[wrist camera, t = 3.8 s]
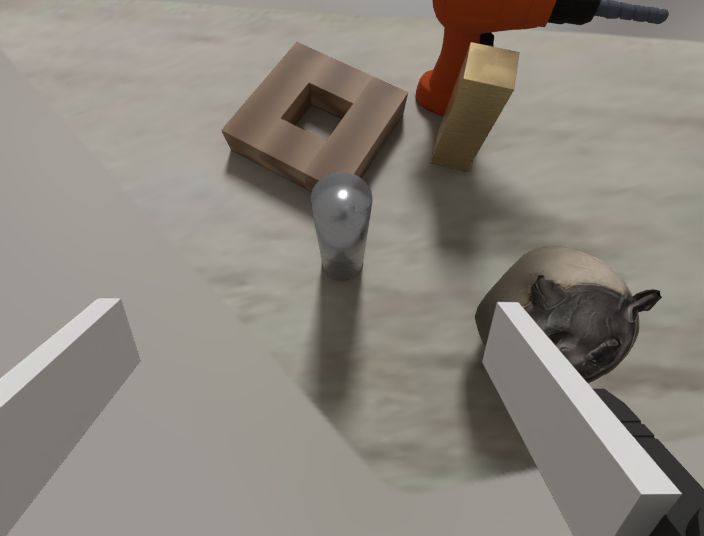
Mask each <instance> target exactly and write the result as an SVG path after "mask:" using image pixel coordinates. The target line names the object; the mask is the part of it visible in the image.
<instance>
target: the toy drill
mask: <svg viewBox="0 0 704 536" xmlns="http://www.w3.org/2000/svg"><path fill="white" fill-rule="evenodd" d="M433 8H434V11H435V14H436V17H437V19H438V20H439V22H440V23H441V24H442V25H443V26H444V27H445V28H444V39H443V45H442V50H441V54H440V56H439V58H438V61H437V63H436V65H435V67H434V69H433V70H430V71H427V72H426V73H424V74H423V76H422V77H421V79H420V81H419V83H418V86H417V90H416V99H417V101H418V102H419V103H420V104H421V105H422V106H424V107H425V108H427V109H429V110H431V111H433V112H435V113H437V114H440V115H443V116H444V114H445V111H446V108H447V106H448V103H449V100H450V97H451V95H452V92H453V89H454V87H455V84H456V81H457V79H458V76H459V73H460V71H461V68H462V65H463V62H464V60H465V57H466V54H467V52H468V49H469V46H470V44H471V42H472V43H477V44H482V45H487V46H491V47H493V42H494V35H493V34H492V33H491V32H498V31H506V30H519V29H530V28H536V27H545V26H546V24H547V22H549V23H555V24H564V23H569V24H576V25H582V24H585V23H588V22H590V21H591V20H592V19H593V17H594V16H600V17H606V18H607V19H611V18H612V19H614V18H615V19H616V18H618V17H620V19H625V20H631V19H633V20H634V21H639V22H644V21H647V22H648V23H655V24H660V23H662V22H664V21H665V20H666V19H667V17H668V15H669V12H668V10H666V9H661V10H660V9H659V8H654V7H645V6H640V5H631V4H627V3H623V2H620V3H619V2H617V1H612V0H606V1H605V0H433Z"/></svg>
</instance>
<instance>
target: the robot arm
mask: <svg viewBox="0 0 704 536" xmlns="http://www.w3.org/2000/svg"><path fill="white" fill-rule="evenodd" d="M140 361H141V360H140V358H139V354H138V351H137V348H136V345H135V341H134V338H133V335H132V332H131V329H130V326H129V323H128V320H127V316H126V313H125V310H124V307H123V304H122V301H121V299H103V298H98V299H97V300H96V301H94V302H93V303H92V304H91V305H90V306H88V307H87V308H86V309H85V310H84V311H82V312H81V313H80V314H79V315H77V316H76V317H75V318H74V319H73V320H71V321H70V322H69V323H68V324H67V325H65V326H64V327H63V328H62V329H60V330H59V331H58V332H57V333H55V334H54V335H53V336H52V337H51V338H49V339H48V340H47V341H46V342H45V343H43V344H42V345H41V346H40V347H38V348H37V349H36V350H35V351H33V352H32V353H31V354H30V355H29V356H28V357H26V358H25V359H24V360H22V361H21V362H20V363H19V364H18V365H16V366H15V367H14V368H13V369H12V370H10V371H9V372H8V373H7V374H5V375H4V376H3V377H2V378H1V379H0V536H6V535H7V534H8V533H9V531H10V530H11V529H12V528H13V526H14V525H15V524H16V522H17V521H18V520H19V518H20V517H21V516H22V515H23V513H24V512H25V511H26V509H27V508H28V506H29V505H30V504H31V503H32V502H33V500H34V499H35V498H36V496H37V495H38V494H39V492H40V491H41V490H42V489H43V487H44V486H45V485H46V483H47V482H48V481H49V479H50V478H51V477H52V476H53V474H54V473H55V472H56V470H57V469H58V468H59V466H60V465H61V464H62V463H63V461H64V460H65V459H66V457H67V456H68V455H69V453H70V452H71V451H72V449H73V448H74V447H75V446H76V444H77V443H78V442H79V440H80V439H81V438H82V436H83V435H84V434H85V433H86V431H87V430H88V429H89V427H90V426H91V425H92V423H93V422H94V421H95V420H96V418H97V417H98V416H99V414H100V413H101V412H102V411H103V409H104V408H105V407H106V405H107V404H108V403H109V401H110V400H111V399H112V398H113V396H114V395H115V394H116V392H117V391H118V390H119V388H120V387H121V386H122V385H123V383H124V382H125V381H126V379H127V378H128V377H129V375H130V374H131V373H132V372H133V370H134V369H135V368H136V366H137V365H138V364H139V362H140ZM482 363H483V365H484V367H485V368H486V370H487V372H488V374H489V376H490V378H491V380H492V382H493V384H494V386H495V388H496V389H497V391H498V393H499V395H500V397H501V399H502V401H503V403H504V405H505V407H506V408H507V410H508V412H509V414H510V416H511V418H512V420H513V422H514V424H515V426H516V427H517V429H518V431H519V433H520V435H521V437H522V439H523V441H524V443H525V445H526V447H527V448H528V450H529V452H530V454H531V456H532V458H533V460H534V462H535V464H536V466H537V467H538V469H539V471H540V473H541V475H542V477H543V479H544V481H545V483H546V485H547V486H548V488H549V490H550V492H551V494H552V496H553V498H554V500H555V502H556V504H557V506H558V507H559V509H560V511H561V513H562V515H563V517H564V519H565V521H566V523H567V524H568V526H569V528H570V530H571V532H572V534H573V536H704V489H703V488H702V487H701V486H700V484H699V483H698V482H697V481H696V480H695V479H694V478H693V477H692V476H691V475H690V474H689V473H688V471H687V470H686V469H685V468H684V467H683V466H682V465H681V464H680V463H679V462H678V461H677V460H676V458H675V457H674V456H673V455H672V454H671V453H670V452H669V451H668V450H667V449H666V448H665V446H664V445H663V444H662V443H661V442H660V441H659V440H658V439H655V438H654V435H653V433H652V432H651V431H650V430H649V429H648V428H647V427H646V426H645V425H644V424H641V420H640V419H639V418H638V417H637V416H636V415H635V414H634V413H633V412H632V411H631V410H630V408H629V407H628V406H627V405H626V404H625V403H624V402H622V401H621V400H619V399H618V398H616V397H615V396H614V395H612V394H611V393H609V392H608V391H607V390H605V389H592V388H591V387H590V386H589V385H588V383H587V382H586V381H585V380H584V379H583V378H582V376H581V375H580V374H579V373H578V372H577V371H576V369H575V368H574V367H573V366H572V365H571V363H570V362H569V361H568V360H567V359H566V358H565V356H564V355H563V354H562V353H561V352H560V351H559V349H558V348H557V347H556V346H555V345H554V344H553V342H552V341H551V340H550V339H549V338H548V337H547V335H546V334H545V333H544V332H543V331H542V330H541V328H540V327H539V326H538V325H537V324H536V323H535V321H534V320H533V319H532V318H531V317H530V316H529V314H528V313H527V312H526V311H525V310H524V309H523V307H522V306H521V305H520V304H519V303H518V302H497V304H496V308H495V312H494V316H493V320H492V324H491V328H490V332H489V337H488V341H487V345H486V349H485V353H484V357H483V361H482Z"/></svg>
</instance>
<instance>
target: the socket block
mask: <svg viewBox="0 0 704 536" xmlns="http://www.w3.org/2000/svg"><path fill="white" fill-rule="evenodd" d="M407 95H408V92H406V91H404V90H402V89H399V88H397V87H395V86H393V85H391V84H388V83H386V82H384V81H382V80H380V79H377V78H375V77H373V76H371V75H369V74H366V73H364V72H362V71H360V70H358V69H355V68H353V67H351V66H349V65H347V64H344V63H342V62H340V61H338V60H336V59H333V58H331V57H329V56H327V55H325V54H322V53H320V52H318V51H316V50H314V49H311V48H309V47H307V46H305V45H303V44H300V43H298V42H296V43H295V44H294V46H293V47H292V48H291V49H290V50H289V51H288V53H287V54H286V55H285V56H284V57H283V58H282V60H281V61H280V62H279V63H278V64H277V65H276V67H275V68H274V69H273V70H272V71H271V73H270V74H269V75H268V76H267V77H266V78H265V80H264V81H263V82H262V83H261V84H260V85H259V87H258V88H257V89H256V90H255V91H254V92H253V94H252V95H251V96H250V97H249V98H248V99H247V101H246V102H245V103H244V104H243V105H242V106H241V108H240V109H239V110H238V111H237V112H236V114H235V115H234V116H233V117H232V118H231V119H230V121H229V122H228V123H227V124H226V125H225V126H224V128H223V129H222V133H223V135H224V137H225V139H226V141H227V143H228V145H229V147H230V149H231V150H233V151H235V152H237V153H239V154H241V155H243V156H244V157H246V158H248V159H250V160H252V161H254V162H256V163H258V164H260V165H262V166H264V167H265V168H267V169H269V170H271V171H273V172H275V173H277V174H279V175H281V176H283V177H285V178H287V179H288V180H290V181H292V182H294V183H296V184H298V185H300V186H302V187H304V188H306V189H308V190H309V191H311V192H312V190H313V188H314V186H315V185H316V183H317V182H318V181H319V180H320V179H322V178H323V177H325V176H327V175H329V174H332V173H336V172H347V173H351V174H354V175H356V176H358V177H360V178H361V177H362V176H363V174H364V173H365V171H366V170H367V168H368V167H369V165H370V164H371V162H372V161H373V159H374V158H375V156H376V154H377V153H378V151H379V150H380V148H381V147H382V145H383V144H384V142H385V141H386V139H387V138H388V136H389V135H390V133H391V132H392V130H393V128H394V127H395V125H396V124H397V122H398V121H399V119H400V118H401V116H402V115H403V113H404V108H405V104H406V99H407ZM311 104H313V105H315V106H317V107H319V108H321V109H323V110H325V111H327V112H329V113H331V114H333V115H336V116H338V117H340V118H342V120H341V121H340V123H339V124H338V126H337V127H336V128H335V130H334V131H333V133H332V134H331V135H330V137H329V138H328V139H327V141H325V140H323V139H321V138H319V137H317V136H315V135H313V134H311V133H309V132H307V131H305V130H303V129H301V128H299V127H297V126H295V124H296V123H297V122H298V121H299V119H300V118H301V117H302V115H303V114H304V113H305V111H306V110H307V109H308V108H309V106H310V105H311Z"/></svg>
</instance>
